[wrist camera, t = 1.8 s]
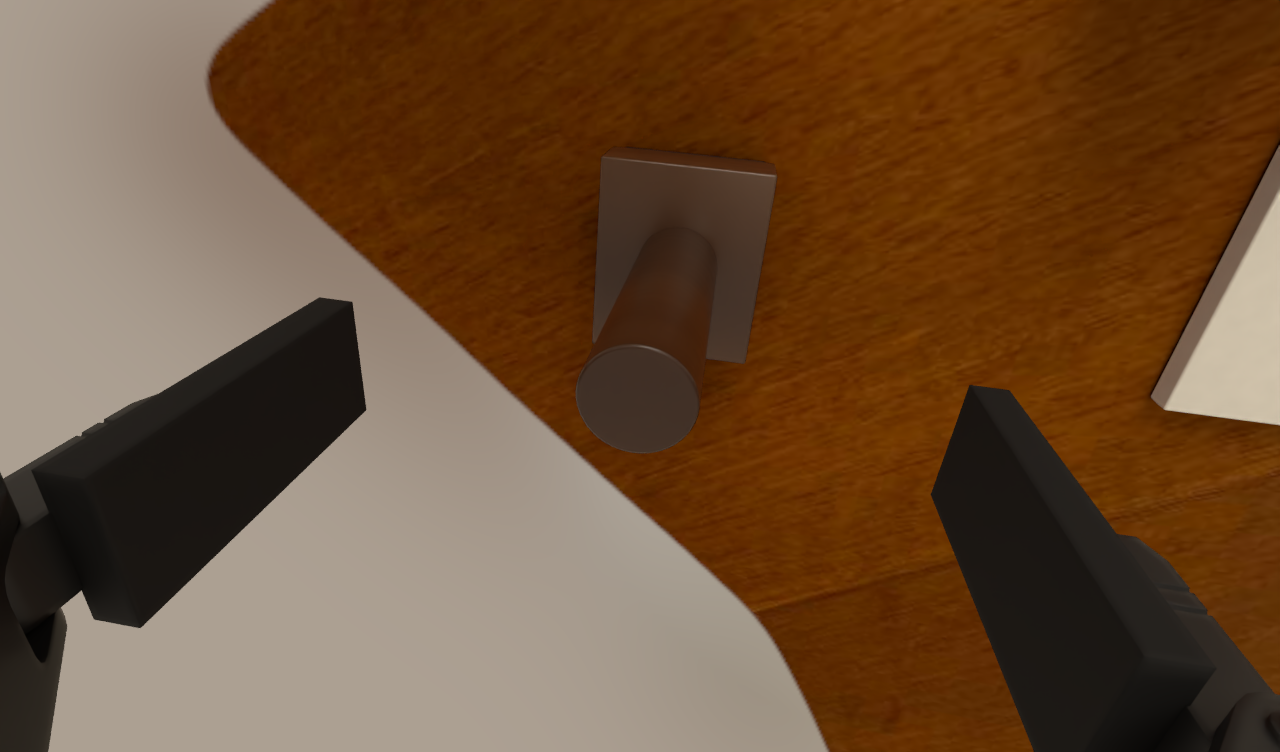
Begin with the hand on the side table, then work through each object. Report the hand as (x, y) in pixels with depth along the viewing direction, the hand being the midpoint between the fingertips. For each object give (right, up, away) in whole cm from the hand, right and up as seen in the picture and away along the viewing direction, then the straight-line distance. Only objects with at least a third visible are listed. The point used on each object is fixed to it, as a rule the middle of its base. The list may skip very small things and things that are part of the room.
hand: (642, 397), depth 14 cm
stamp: (+2, +6, +10) cm, 12 cm away
